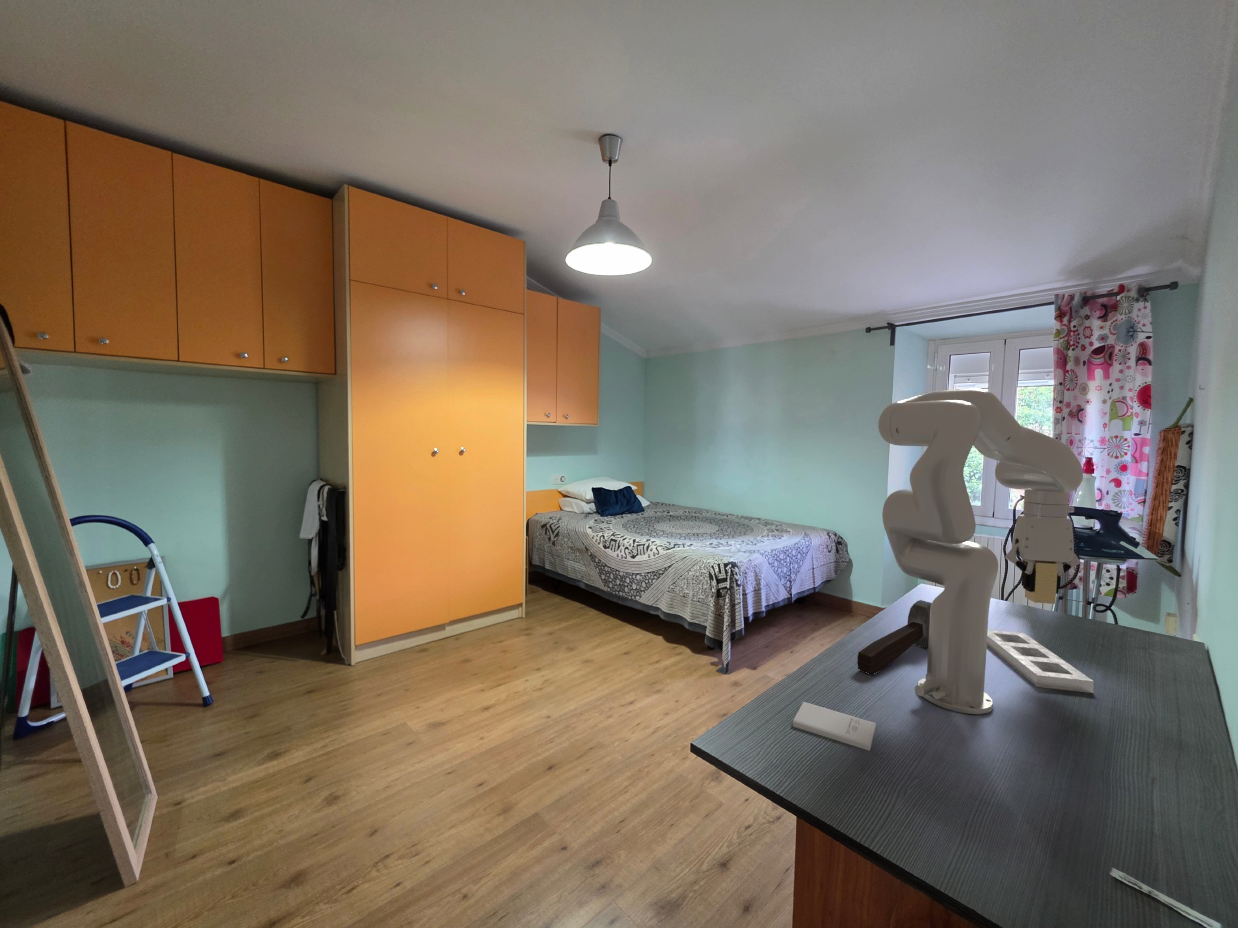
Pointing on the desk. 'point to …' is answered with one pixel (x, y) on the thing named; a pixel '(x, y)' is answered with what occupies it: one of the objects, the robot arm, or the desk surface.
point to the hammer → (897, 640)
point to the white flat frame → (1037, 662)
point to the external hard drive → (835, 725)
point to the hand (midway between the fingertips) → (1040, 590)
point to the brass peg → (1044, 583)
